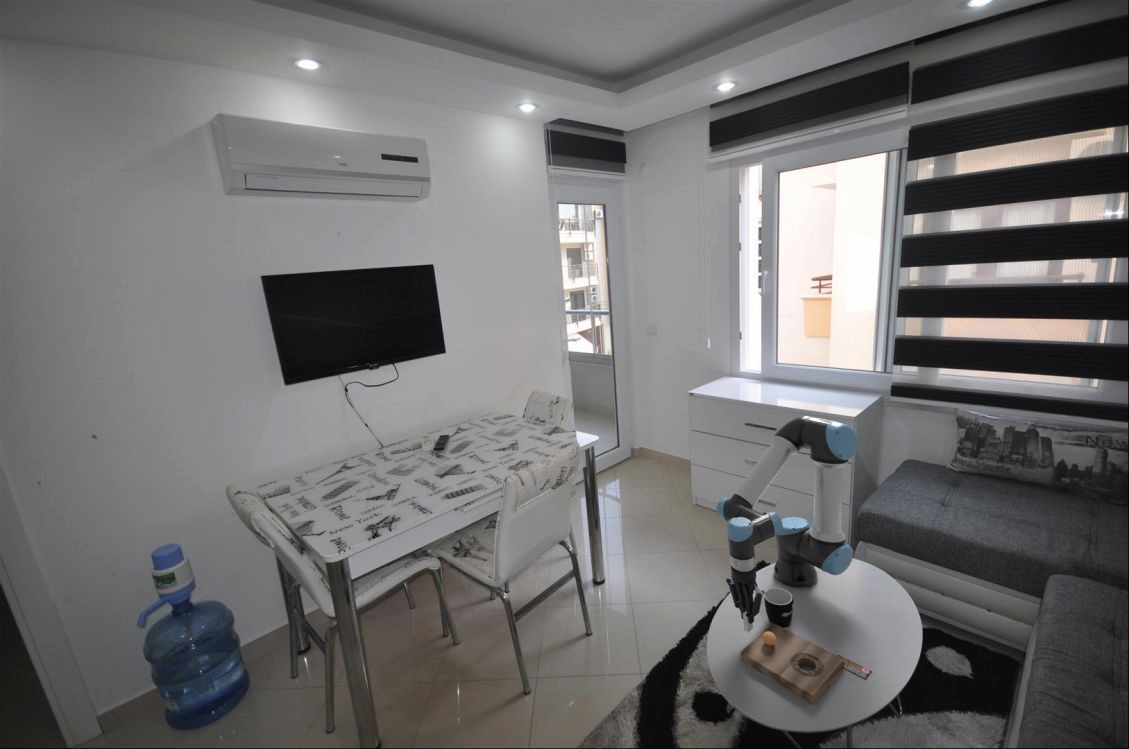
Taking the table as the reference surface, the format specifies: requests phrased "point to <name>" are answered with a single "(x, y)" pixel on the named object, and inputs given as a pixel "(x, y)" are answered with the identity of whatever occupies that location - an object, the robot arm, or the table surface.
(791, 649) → the wooden board
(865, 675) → the chocolate bar
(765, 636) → the ball
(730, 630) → the table surface
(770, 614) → the mug
